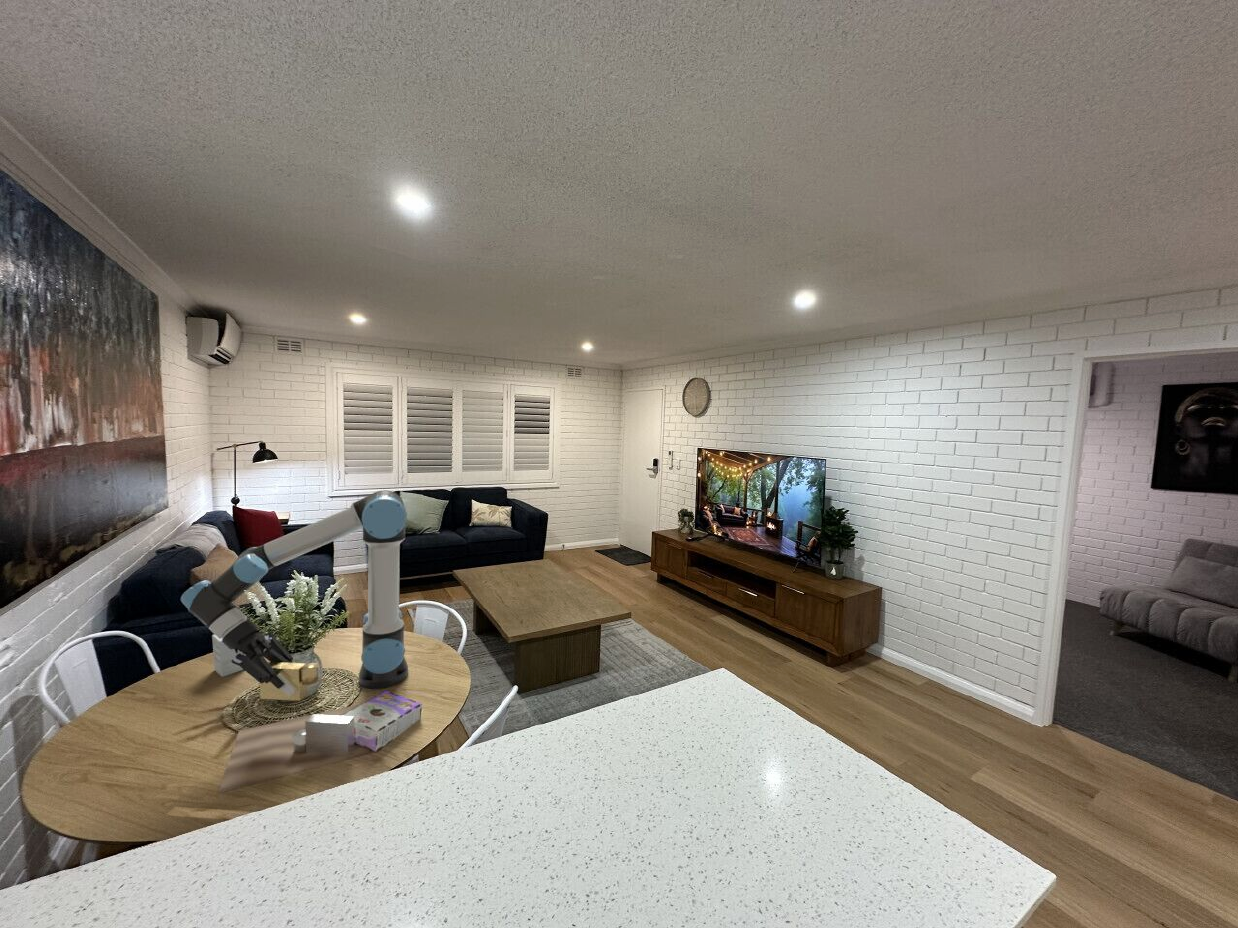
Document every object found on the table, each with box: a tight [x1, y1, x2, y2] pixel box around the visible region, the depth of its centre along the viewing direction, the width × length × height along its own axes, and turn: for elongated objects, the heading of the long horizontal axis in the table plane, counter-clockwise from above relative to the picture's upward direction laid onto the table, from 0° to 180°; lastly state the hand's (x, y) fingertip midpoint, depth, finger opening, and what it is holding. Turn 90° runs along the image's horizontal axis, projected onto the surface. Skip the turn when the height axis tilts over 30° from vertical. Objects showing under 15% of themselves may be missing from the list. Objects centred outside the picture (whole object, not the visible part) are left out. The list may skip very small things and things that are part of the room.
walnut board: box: [217, 703, 373, 794], centre depth 134 cm, size 25×32×1 cm
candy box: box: [342, 690, 423, 752], centre depth 141 cm, size 14×6×16 cm
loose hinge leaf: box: [259, 661, 320, 701], centre depth 137 cm, size 4×15×9 cm, turn 88°
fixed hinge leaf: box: [293, 713, 355, 756], centre depth 131 cm, size 4×15×9 cm, turn 88°
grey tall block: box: [211, 634, 245, 678], centre depth 170 cm, size 7×7×13 cm
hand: (297, 689), depth 137 cm, fingers closed on loose hinge leaf, 3 cm apart
